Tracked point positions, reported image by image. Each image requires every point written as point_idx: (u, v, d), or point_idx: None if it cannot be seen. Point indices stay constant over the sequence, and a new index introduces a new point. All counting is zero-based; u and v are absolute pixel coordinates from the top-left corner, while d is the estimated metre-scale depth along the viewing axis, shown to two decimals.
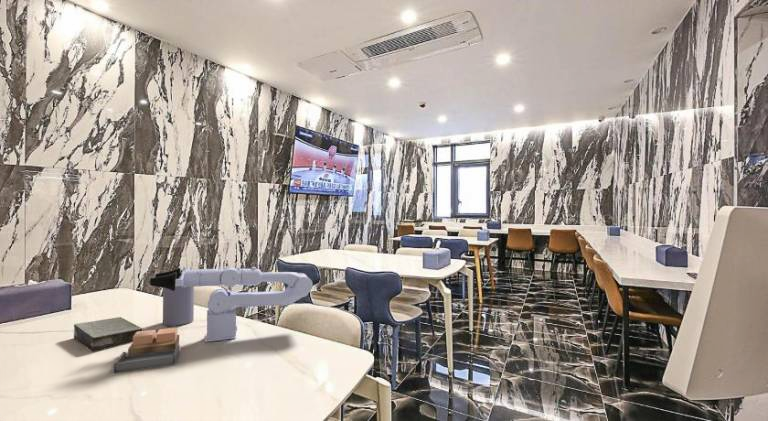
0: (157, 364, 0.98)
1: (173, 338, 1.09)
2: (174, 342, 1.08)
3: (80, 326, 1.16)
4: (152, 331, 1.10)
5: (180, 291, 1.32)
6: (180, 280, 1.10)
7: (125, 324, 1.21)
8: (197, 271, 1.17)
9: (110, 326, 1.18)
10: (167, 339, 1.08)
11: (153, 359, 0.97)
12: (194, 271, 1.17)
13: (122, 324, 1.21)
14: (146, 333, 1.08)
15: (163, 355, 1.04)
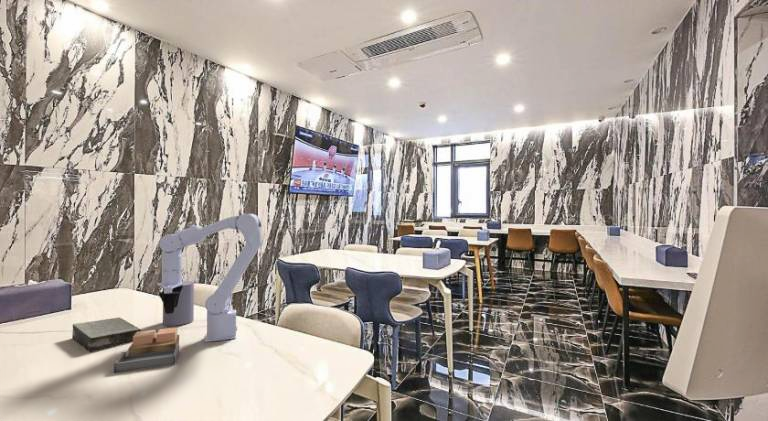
0: (157, 364, 0.98)
1: (173, 338, 1.09)
2: (174, 342, 1.08)
3: (78, 326, 1.16)
4: (152, 331, 1.10)
5: None
6: (165, 289, 1.11)
7: (123, 324, 1.21)
8: (162, 273, 1.15)
9: (108, 326, 1.18)
10: (167, 339, 1.08)
11: (153, 359, 0.97)
12: (162, 276, 1.16)
13: (120, 324, 1.21)
14: (146, 333, 1.08)
15: (163, 355, 1.04)
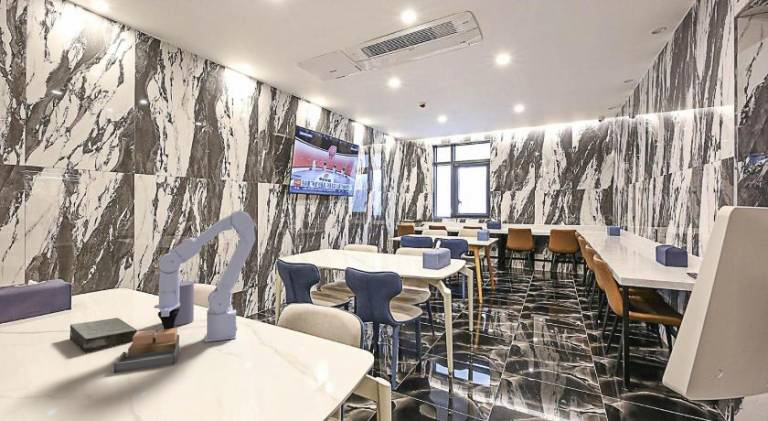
0: (157, 364, 0.98)
1: (173, 338, 1.09)
2: (174, 342, 1.08)
3: (75, 327, 1.16)
4: (152, 331, 1.10)
5: (180, 291, 1.32)
6: (162, 312, 1.07)
7: (120, 325, 1.20)
8: (159, 294, 1.11)
9: (105, 327, 1.17)
10: (167, 339, 1.08)
11: (153, 359, 0.97)
12: (159, 297, 1.11)
13: (117, 325, 1.20)
14: (146, 333, 1.08)
15: (163, 355, 1.04)
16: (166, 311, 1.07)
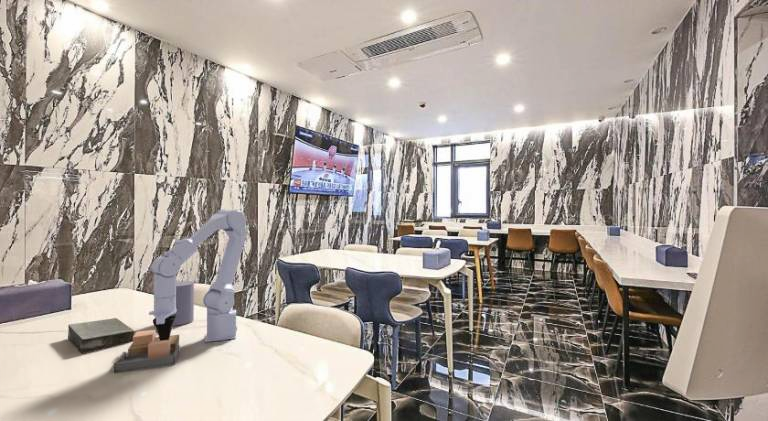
0: (157, 364, 0.98)
1: None
2: (174, 342, 1.08)
3: (73, 327, 1.16)
4: (152, 331, 1.10)
5: (180, 291, 1.32)
6: (157, 319, 1.00)
7: (118, 326, 1.20)
8: (154, 300, 1.04)
9: (103, 327, 1.17)
10: None
11: (153, 359, 0.97)
12: (154, 303, 1.04)
13: (115, 326, 1.20)
14: (146, 333, 1.08)
15: None
16: (161, 318, 1.00)
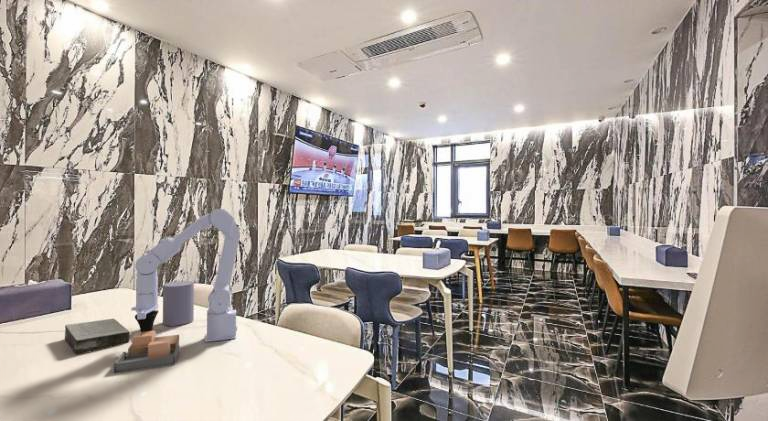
0: (157, 364, 0.98)
1: None
2: (174, 342, 1.08)
3: (70, 327, 1.15)
4: (151, 332, 1.09)
5: (180, 291, 1.32)
6: (138, 314, 1.04)
7: (114, 326, 1.19)
8: (136, 296, 1.09)
9: (99, 328, 1.16)
10: None
11: (153, 359, 0.97)
12: (136, 299, 1.09)
13: (111, 326, 1.19)
14: (145, 334, 1.07)
15: None
16: (142, 313, 1.04)
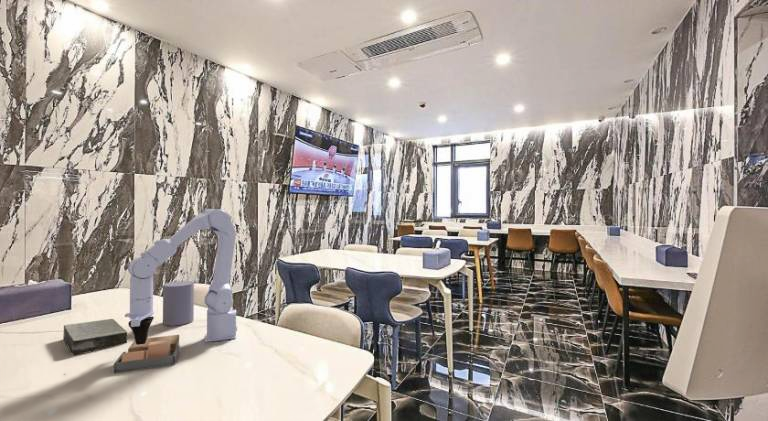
0: (157, 364, 0.98)
1: None
2: (174, 342, 1.08)
3: (68, 328, 1.15)
4: None
5: (180, 291, 1.32)
6: (132, 321, 0.98)
7: (113, 327, 1.18)
8: (130, 302, 1.02)
9: (97, 328, 1.16)
10: None
11: (153, 359, 0.97)
12: (130, 305, 1.02)
13: (110, 327, 1.18)
14: None
15: None
16: (136, 320, 0.98)
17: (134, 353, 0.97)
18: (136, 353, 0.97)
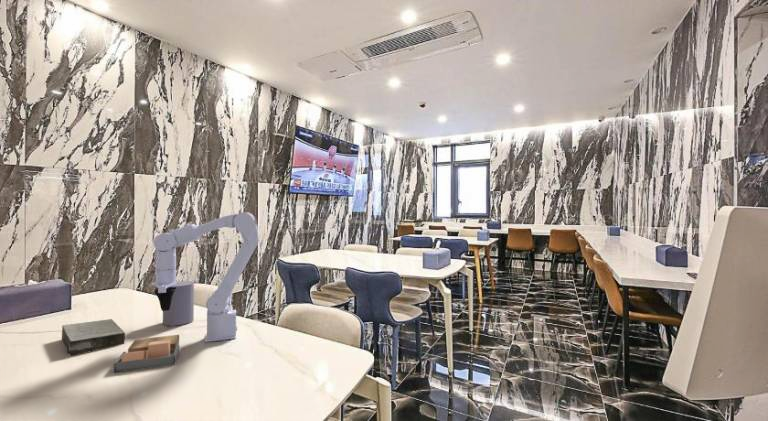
0: (157, 364, 0.98)
1: None
2: (174, 342, 1.08)
3: (66, 328, 1.15)
4: None
5: (180, 291, 1.32)
6: (159, 288, 1.09)
7: (111, 327, 1.18)
8: (156, 272, 1.14)
9: (95, 329, 1.15)
10: None
11: (153, 359, 0.97)
12: (156, 275, 1.14)
13: (108, 327, 1.18)
14: None
15: None
16: (163, 287, 1.10)
17: (134, 353, 0.97)
18: (136, 353, 0.97)
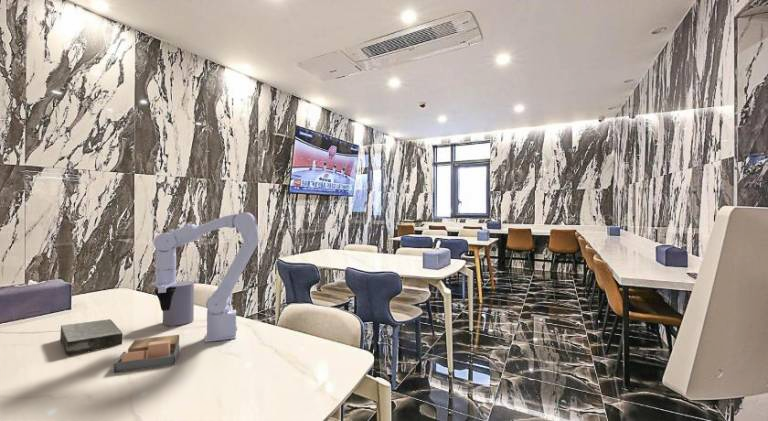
0: (157, 364, 0.98)
1: None
2: (174, 342, 1.08)
3: (64, 328, 1.14)
4: None
5: (180, 291, 1.32)
6: (159, 288, 1.09)
7: (109, 327, 1.18)
8: (156, 272, 1.14)
9: (93, 329, 1.15)
10: None
11: (153, 359, 0.97)
12: (156, 275, 1.14)
13: (106, 327, 1.18)
14: None
15: None
16: (163, 287, 1.10)
17: (134, 353, 0.97)
18: (136, 353, 0.97)
